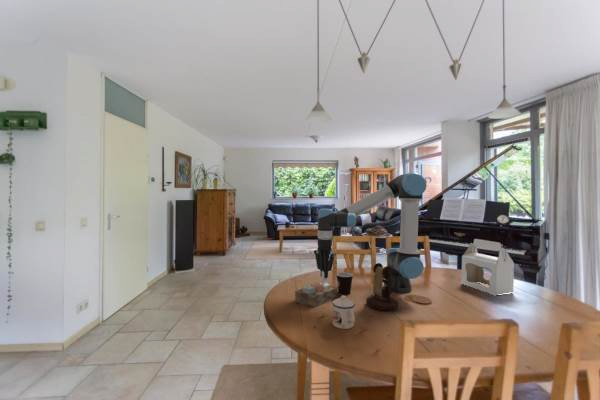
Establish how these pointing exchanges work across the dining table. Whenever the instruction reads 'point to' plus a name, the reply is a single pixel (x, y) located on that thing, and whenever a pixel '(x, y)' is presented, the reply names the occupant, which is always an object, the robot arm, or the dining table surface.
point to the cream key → (326, 286)
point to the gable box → (498, 265)
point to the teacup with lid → (343, 313)
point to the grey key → (309, 289)
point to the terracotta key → (317, 286)
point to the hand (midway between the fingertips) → (324, 283)
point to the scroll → (382, 289)
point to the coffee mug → (344, 283)
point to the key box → (316, 296)
